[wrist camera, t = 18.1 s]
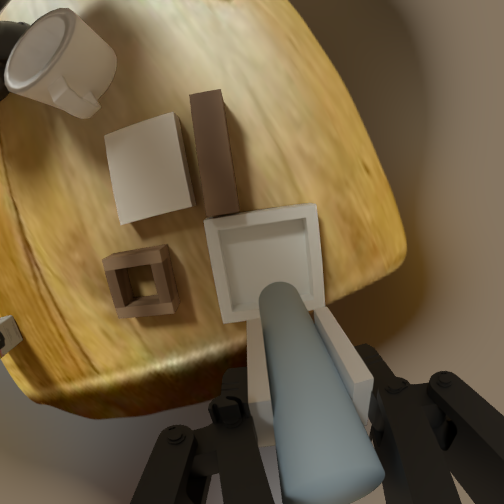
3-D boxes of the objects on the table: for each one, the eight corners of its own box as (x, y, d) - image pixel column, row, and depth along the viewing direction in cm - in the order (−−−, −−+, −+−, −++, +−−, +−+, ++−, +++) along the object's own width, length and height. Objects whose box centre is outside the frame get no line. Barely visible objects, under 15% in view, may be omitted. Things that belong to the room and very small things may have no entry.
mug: (142, 90, 26) (101, 54, 15) (78, 146, 27) (22, 136, 16) (100, 31, 23) (63, -5, 13) (45, 81, 24) (-2, 61, 14)
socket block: (128, 308, 31) (118, 318, 28) (113, 253, 30) (101, 259, 27) (180, 302, 31) (174, 313, 28) (167, 244, 30) (159, 249, 27)
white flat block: (131, 221, 30) (120, 225, 27) (115, 139, 27) (104, 135, 24) (197, 204, 29) (191, 206, 27) (179, 118, 27) (173, 111, 24)
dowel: (261, 322, 20) (285, 517, 6) (255, 284, 20) (278, 481, 5) (301, 316, 20) (375, 497, 5) (298, 278, 20) (394, 453, 5)
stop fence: (211, 213, 29) (206, 216, 25) (196, 106, 27) (189, 94, 23) (239, 208, 29) (238, 211, 25) (223, 101, 27) (220, 89, 23)
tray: (224, 313, 32) (223, 323, 29) (206, 217, 29) (203, 220, 27) (319, 299, 32) (325, 307, 29) (310, 202, 29) (316, 204, 27)
